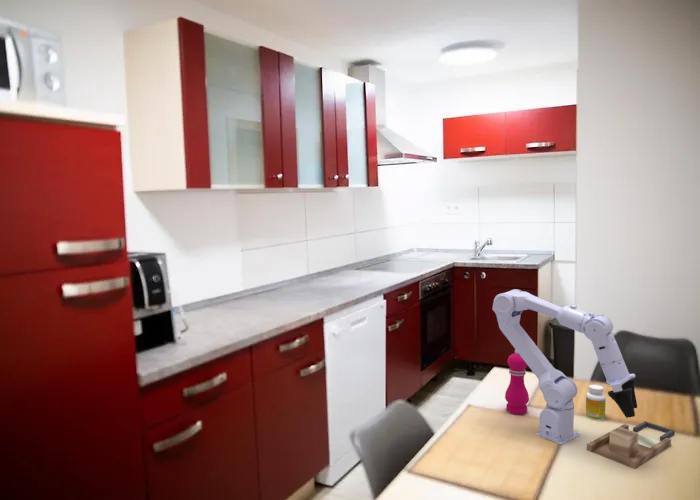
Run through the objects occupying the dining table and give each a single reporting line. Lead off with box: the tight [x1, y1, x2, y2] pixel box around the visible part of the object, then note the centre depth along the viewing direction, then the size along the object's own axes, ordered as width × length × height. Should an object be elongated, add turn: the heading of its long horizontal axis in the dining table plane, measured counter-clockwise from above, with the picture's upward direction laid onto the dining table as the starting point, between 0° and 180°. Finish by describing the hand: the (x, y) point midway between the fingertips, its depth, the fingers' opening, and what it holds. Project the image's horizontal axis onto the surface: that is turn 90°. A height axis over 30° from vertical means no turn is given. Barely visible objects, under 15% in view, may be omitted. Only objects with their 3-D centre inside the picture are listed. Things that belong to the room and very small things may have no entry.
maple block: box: [609, 426, 639, 457], centre depth 140 cm, size 5×5×5 cm
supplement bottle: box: [585, 384, 607, 421], centre depth 161 cm, size 5×5×10 cm
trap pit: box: [632, 421, 675, 441], centre depth 150 cm, size 7×8×2 cm
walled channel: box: [586, 423, 672, 470], centre depth 142 cm, size 20×12×2 cm, turn 126°
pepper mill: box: [504, 349, 530, 415], centre depth 167 cm, size 7×7×20 cm
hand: (631, 412), depth 137 cm, fingers open, 7 cm apart
